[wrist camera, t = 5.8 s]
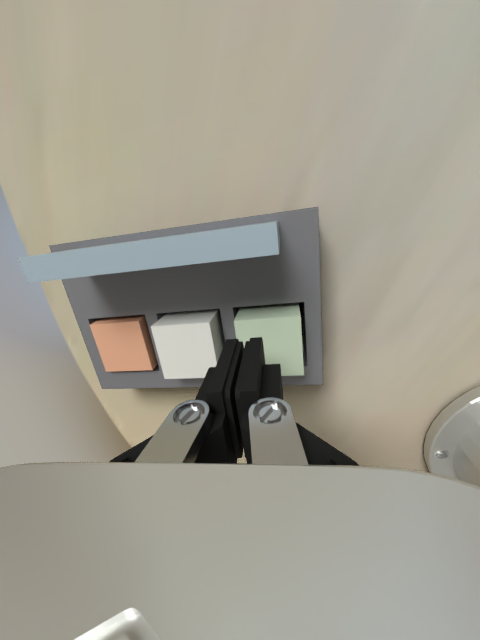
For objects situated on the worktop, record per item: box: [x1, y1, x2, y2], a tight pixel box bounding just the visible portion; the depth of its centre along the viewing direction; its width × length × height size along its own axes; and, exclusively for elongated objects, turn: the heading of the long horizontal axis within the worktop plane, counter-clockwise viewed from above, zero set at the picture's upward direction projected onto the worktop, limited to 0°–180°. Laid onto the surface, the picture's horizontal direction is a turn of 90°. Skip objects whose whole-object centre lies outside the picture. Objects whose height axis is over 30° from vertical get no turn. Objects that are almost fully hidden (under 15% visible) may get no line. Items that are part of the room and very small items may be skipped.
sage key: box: [234, 302, 304, 376], centre depth 16 cm, size 4×4×3 cm
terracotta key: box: [90, 314, 158, 372], centre depth 19 cm, size 4×4×3 cm
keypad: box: [18, 207, 323, 389], centre depth 16 cm, size 16×10×7 cm, turn 98°
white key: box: [151, 309, 225, 379], centre depth 17 cm, size 4×4×3 cm
